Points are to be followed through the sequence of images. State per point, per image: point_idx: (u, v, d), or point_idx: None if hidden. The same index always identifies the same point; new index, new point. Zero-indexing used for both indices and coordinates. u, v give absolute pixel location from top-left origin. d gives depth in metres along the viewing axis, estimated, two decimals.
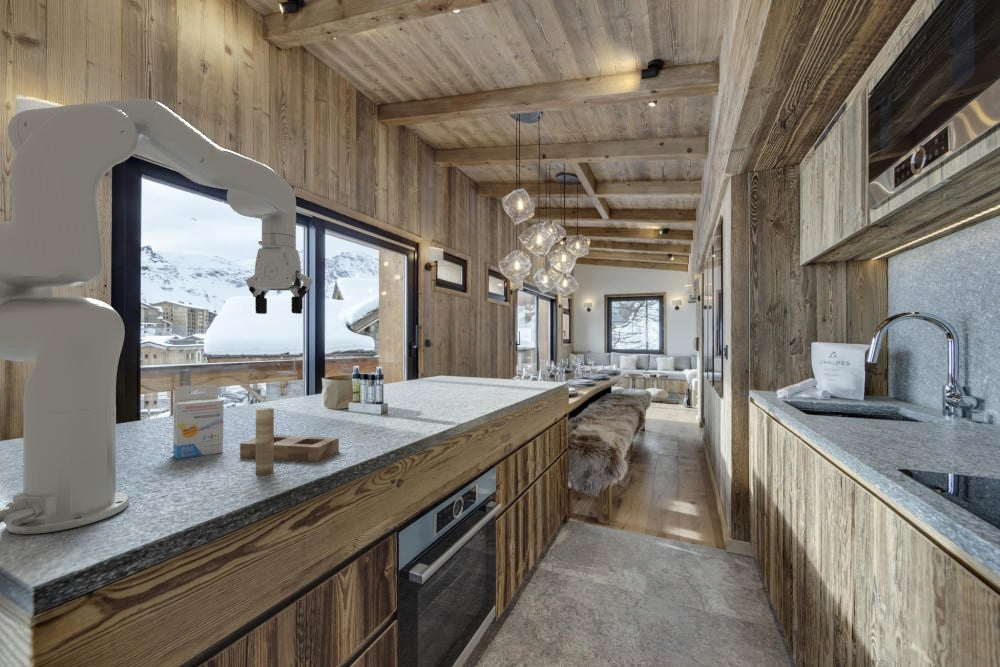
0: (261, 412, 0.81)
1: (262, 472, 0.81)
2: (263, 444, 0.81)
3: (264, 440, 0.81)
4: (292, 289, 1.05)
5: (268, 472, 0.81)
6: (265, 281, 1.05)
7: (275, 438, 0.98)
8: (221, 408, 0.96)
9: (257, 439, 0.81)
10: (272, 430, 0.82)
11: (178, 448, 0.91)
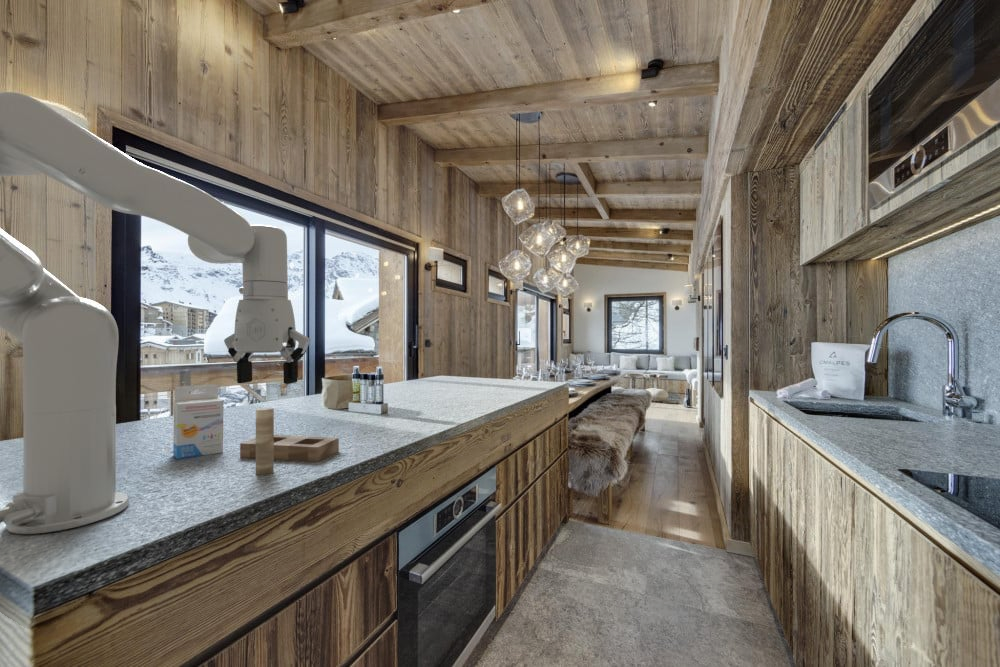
0: (261, 412, 0.81)
1: (262, 472, 0.81)
2: (263, 444, 0.81)
3: (264, 440, 0.81)
4: (284, 353, 0.80)
5: (268, 472, 0.81)
6: (248, 343, 0.80)
7: (275, 438, 0.98)
8: (221, 408, 0.96)
9: (257, 439, 0.81)
10: (272, 430, 0.82)
11: (178, 448, 0.91)
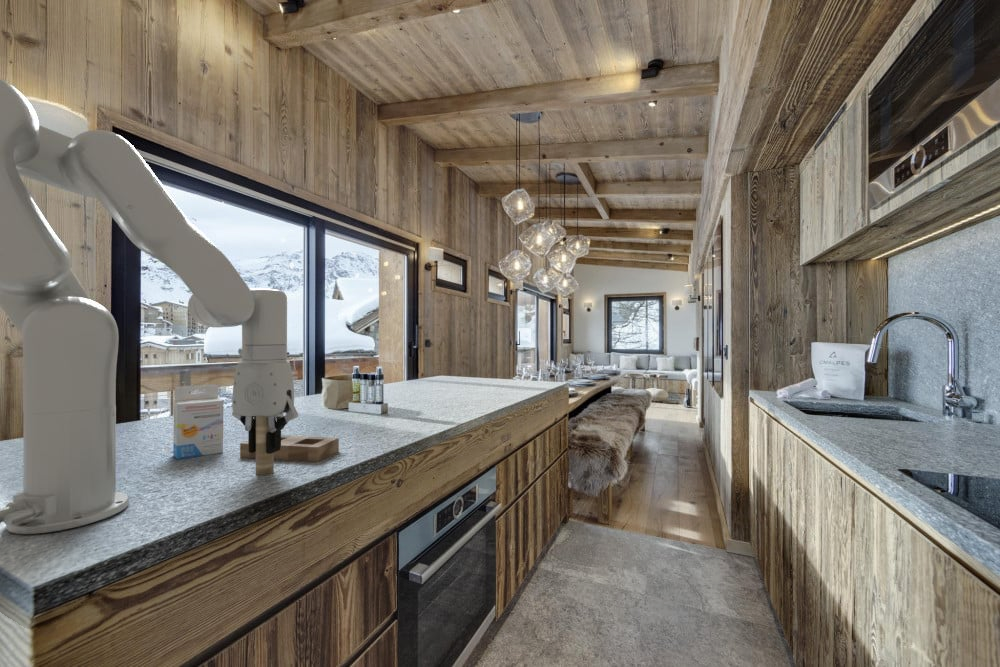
0: None
1: (262, 472, 0.81)
2: (263, 444, 0.81)
3: (264, 440, 0.81)
4: (271, 421, 0.81)
5: (268, 472, 0.81)
6: (246, 406, 0.80)
7: None
8: (221, 408, 0.96)
9: (257, 439, 0.81)
10: None
11: (178, 448, 0.91)
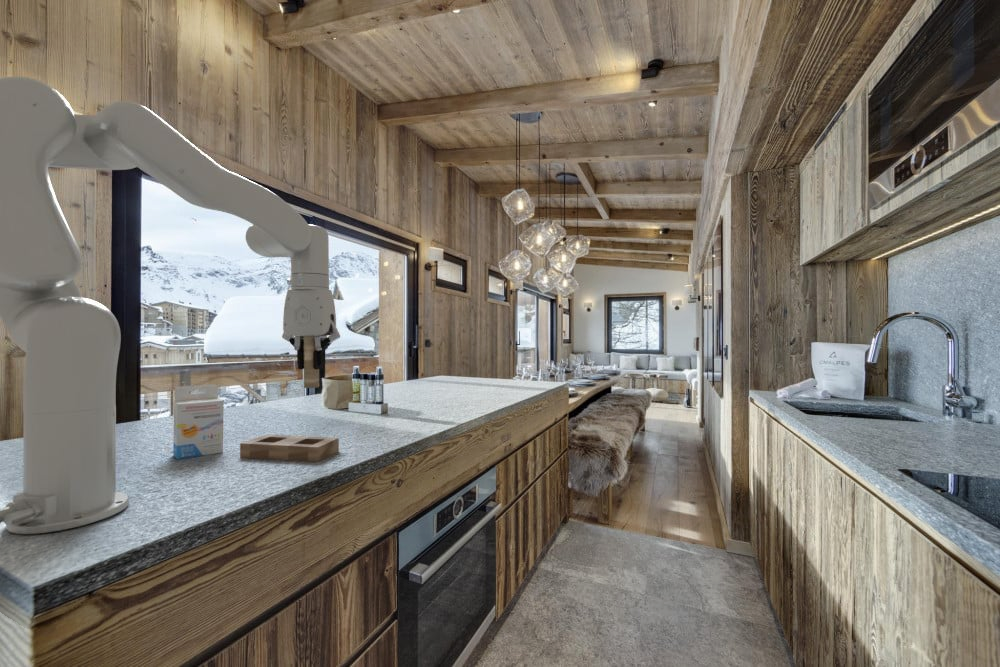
0: None
1: (310, 385, 0.93)
2: (311, 361, 0.93)
3: (312, 357, 0.93)
4: (317, 340, 0.92)
5: (315, 386, 0.93)
6: (296, 327, 0.92)
7: (275, 438, 0.98)
8: (221, 408, 0.96)
9: (305, 357, 0.93)
10: None
11: (178, 448, 0.91)
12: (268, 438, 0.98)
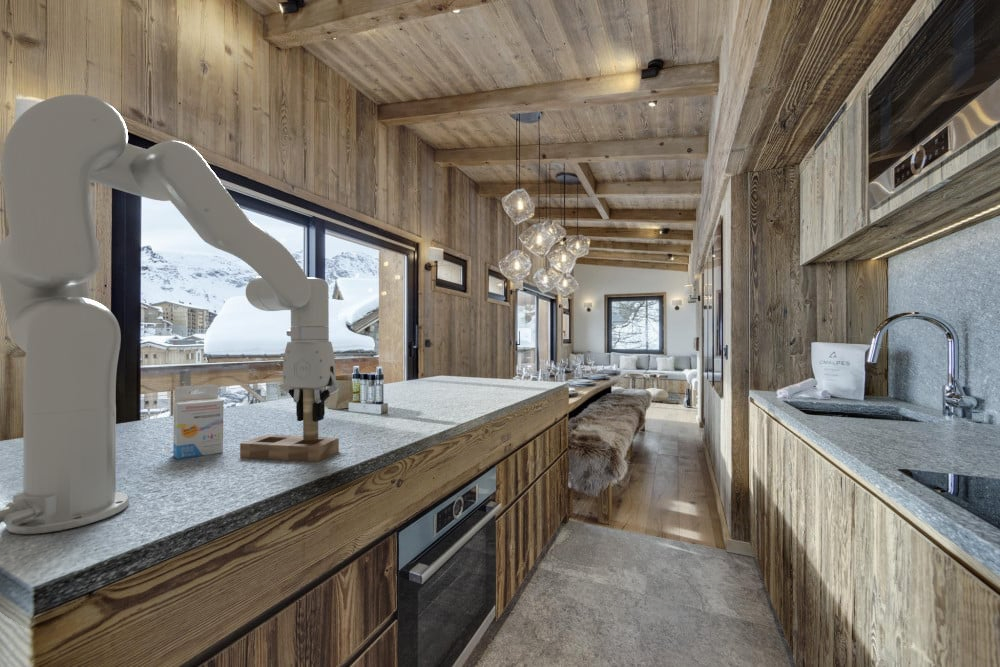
0: None
1: (309, 437, 0.93)
2: (310, 413, 0.93)
3: (311, 410, 0.93)
4: (317, 393, 0.92)
5: (314, 438, 0.93)
6: (295, 380, 0.91)
7: (275, 438, 0.98)
8: (221, 408, 0.96)
9: (305, 409, 0.93)
10: None
11: (178, 448, 0.91)
12: (268, 438, 0.98)
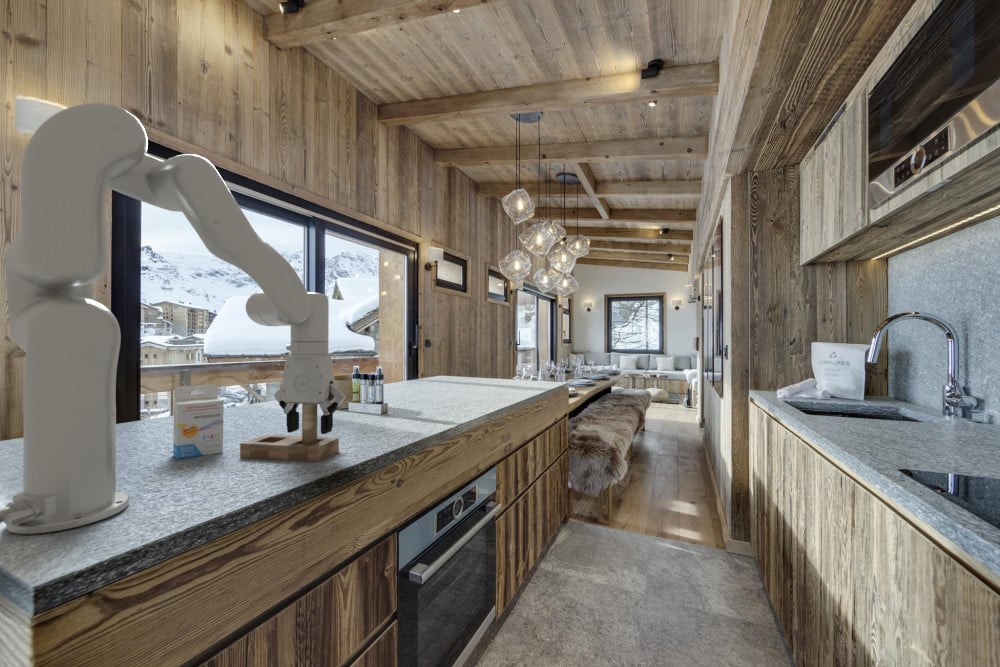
0: None
1: None
2: (309, 430, 0.93)
3: (310, 427, 0.93)
4: (323, 406, 0.92)
5: None
6: (295, 395, 0.91)
7: (275, 438, 0.98)
8: (221, 408, 0.96)
9: (304, 426, 0.93)
10: (316, 418, 0.94)
11: (178, 448, 0.91)
12: (268, 438, 0.98)
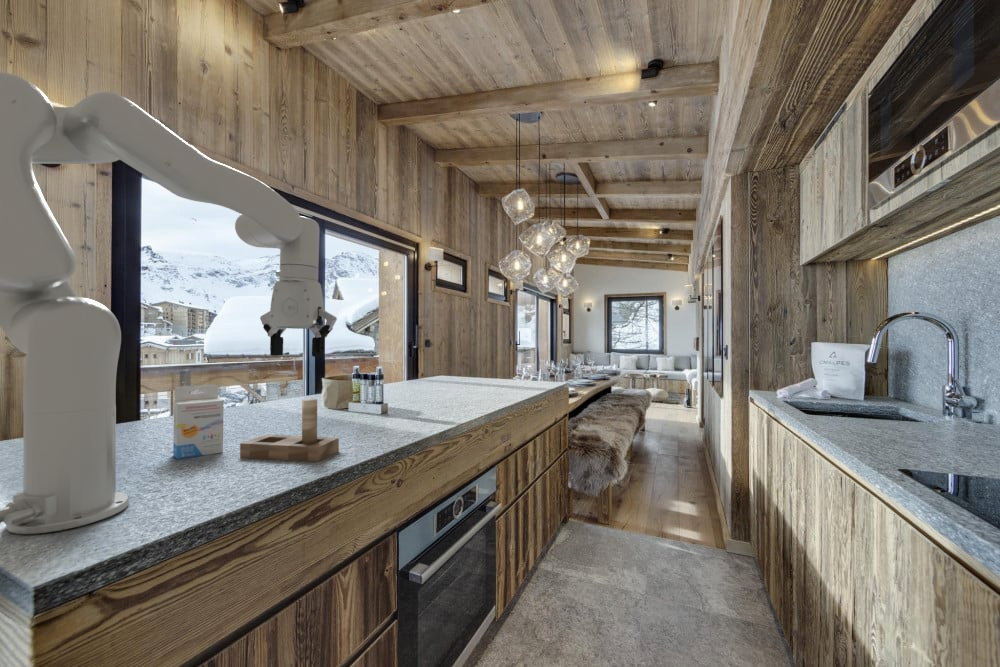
0: (307, 402, 0.92)
1: None
2: (309, 430, 0.93)
3: (310, 427, 0.93)
4: (313, 329, 0.91)
5: None
6: (282, 319, 0.90)
7: (275, 438, 0.98)
8: (221, 408, 0.96)
9: (304, 426, 0.93)
10: (316, 418, 0.94)
11: (178, 448, 0.91)
12: (268, 438, 0.98)
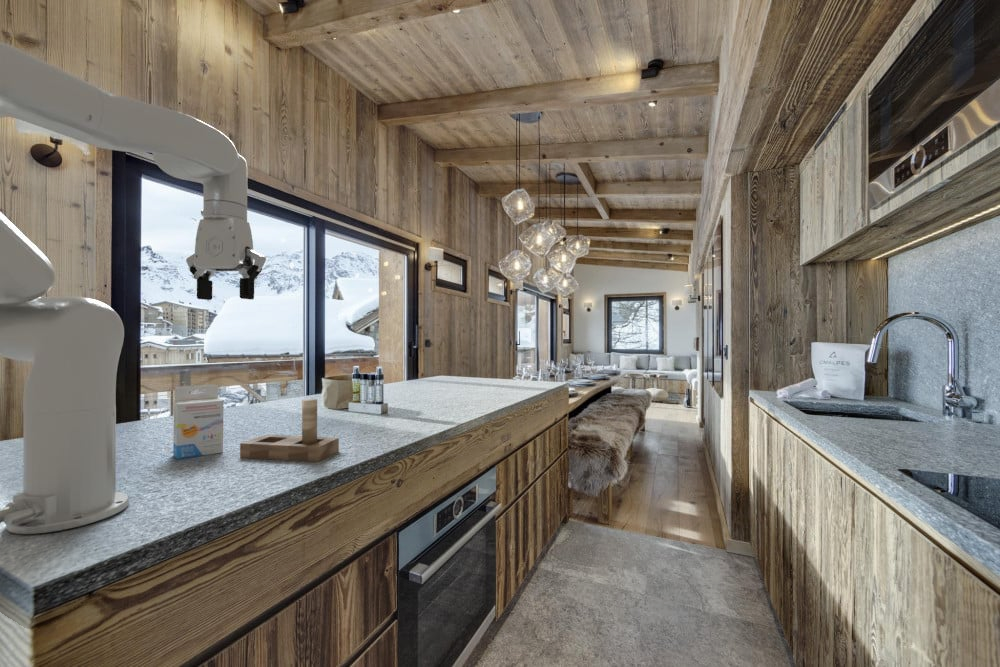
0: (307, 402, 0.92)
1: None
2: (309, 430, 0.93)
3: (310, 427, 0.93)
4: (240, 269, 0.86)
5: None
6: (207, 259, 0.86)
7: (275, 438, 0.98)
8: (221, 408, 0.96)
9: (304, 426, 0.93)
10: (316, 418, 0.94)
11: (178, 448, 0.91)
12: (268, 438, 0.98)
